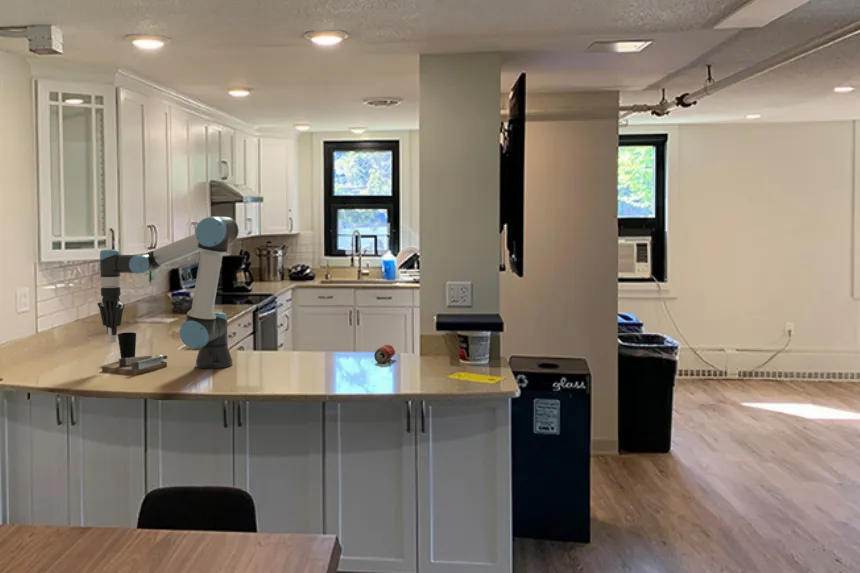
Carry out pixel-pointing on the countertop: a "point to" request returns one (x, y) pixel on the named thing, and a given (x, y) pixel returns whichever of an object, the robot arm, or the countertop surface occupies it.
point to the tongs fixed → (148, 362)
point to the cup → (127, 344)
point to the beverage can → (384, 353)
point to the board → (128, 370)
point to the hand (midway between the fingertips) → (112, 342)
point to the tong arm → (132, 360)
